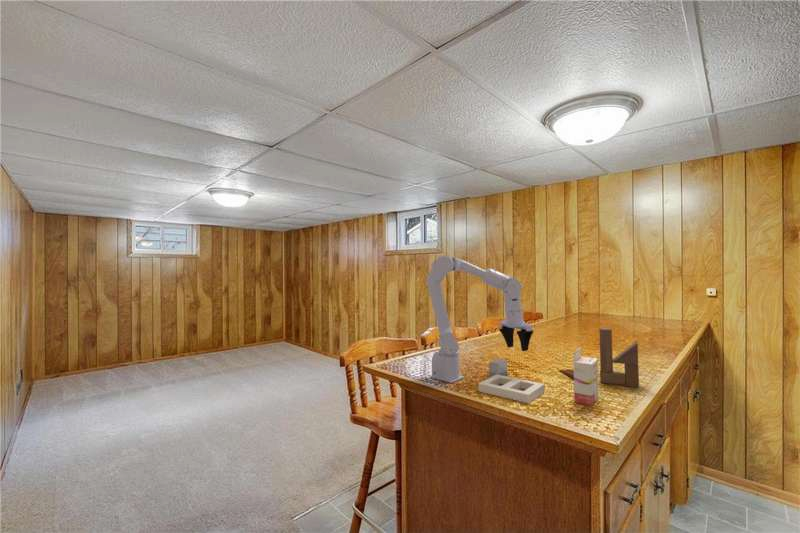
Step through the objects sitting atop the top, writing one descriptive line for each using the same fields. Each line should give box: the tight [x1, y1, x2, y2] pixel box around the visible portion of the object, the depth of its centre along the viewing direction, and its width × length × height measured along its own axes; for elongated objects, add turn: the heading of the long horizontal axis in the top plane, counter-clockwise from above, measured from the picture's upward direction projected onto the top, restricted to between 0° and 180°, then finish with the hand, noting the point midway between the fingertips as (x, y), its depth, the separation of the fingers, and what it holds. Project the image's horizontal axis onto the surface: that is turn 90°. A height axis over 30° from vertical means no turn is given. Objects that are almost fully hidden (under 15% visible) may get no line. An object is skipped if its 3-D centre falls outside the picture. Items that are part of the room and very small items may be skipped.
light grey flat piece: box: [477, 374, 546, 404], centre depth 111 cm, size 16×12×2 cm
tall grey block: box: [488, 358, 508, 378], centre depth 126 cm, size 4×7×6 cm, turn 137°
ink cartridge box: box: [572, 346, 599, 407], centre depth 103 cm, size 9×5×15 cm, turn 141°
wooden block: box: [598, 327, 640, 388], centre depth 116 cm, size 4×11×18 cm, turn 61°
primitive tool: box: [557, 368, 574, 381], centre depth 123 cm, size 19×6×4 cm, turn 177°
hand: (517, 348), depth 125 cm, fingers open, 7 cm apart
